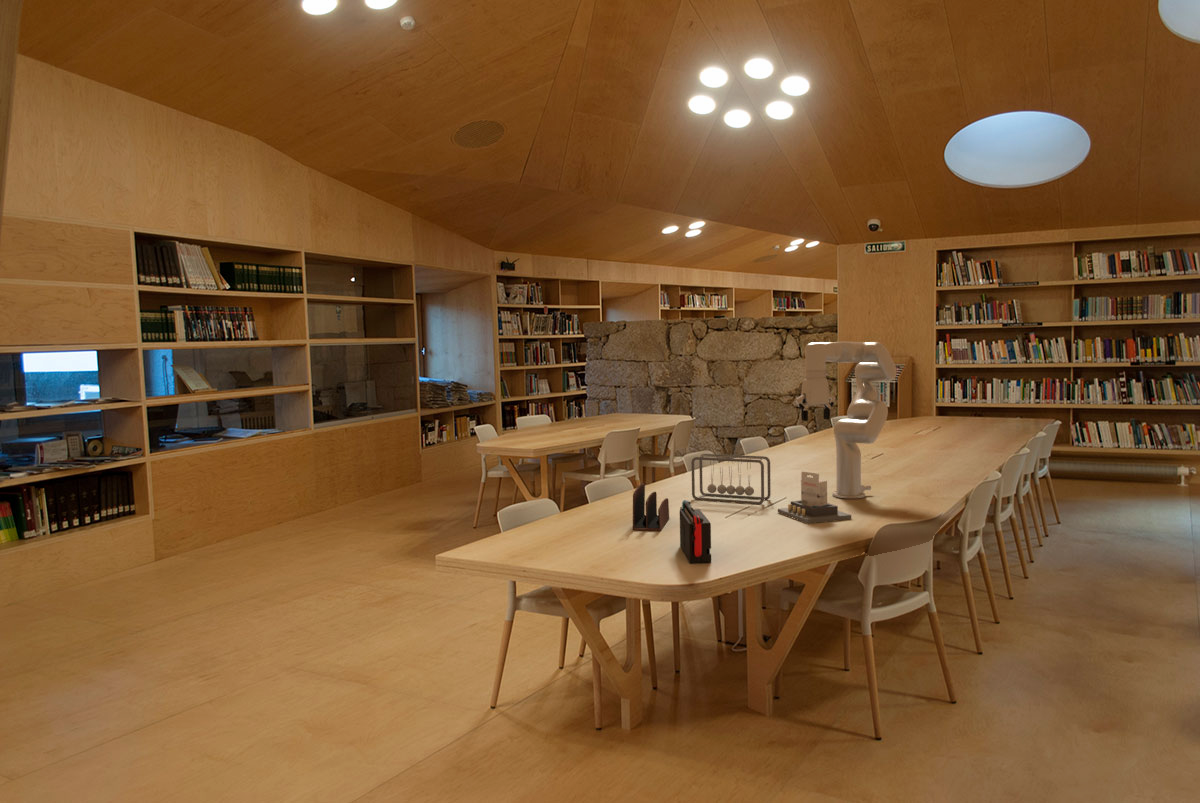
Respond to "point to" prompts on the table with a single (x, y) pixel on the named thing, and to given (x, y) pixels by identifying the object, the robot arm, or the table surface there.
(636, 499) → the letter holder
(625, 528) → the table surface
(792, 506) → the dock board
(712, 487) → the newton's cradle
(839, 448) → the robot arm
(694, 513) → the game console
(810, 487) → the ink box
